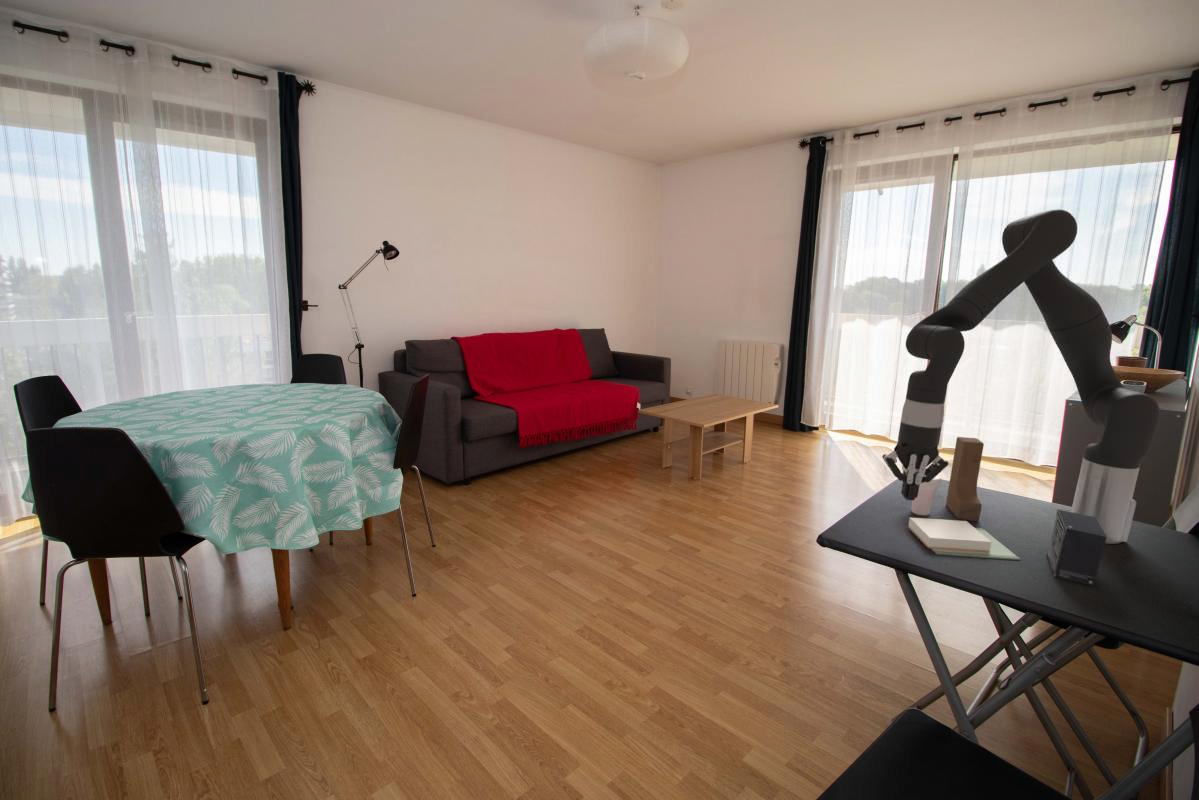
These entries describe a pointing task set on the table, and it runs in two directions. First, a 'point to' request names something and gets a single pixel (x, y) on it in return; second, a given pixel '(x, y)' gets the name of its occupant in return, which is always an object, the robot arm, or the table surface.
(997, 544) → the mat
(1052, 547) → the small box
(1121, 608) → the table surface
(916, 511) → the smoothie
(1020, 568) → the table surface
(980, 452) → the wooden block
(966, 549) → the tile
